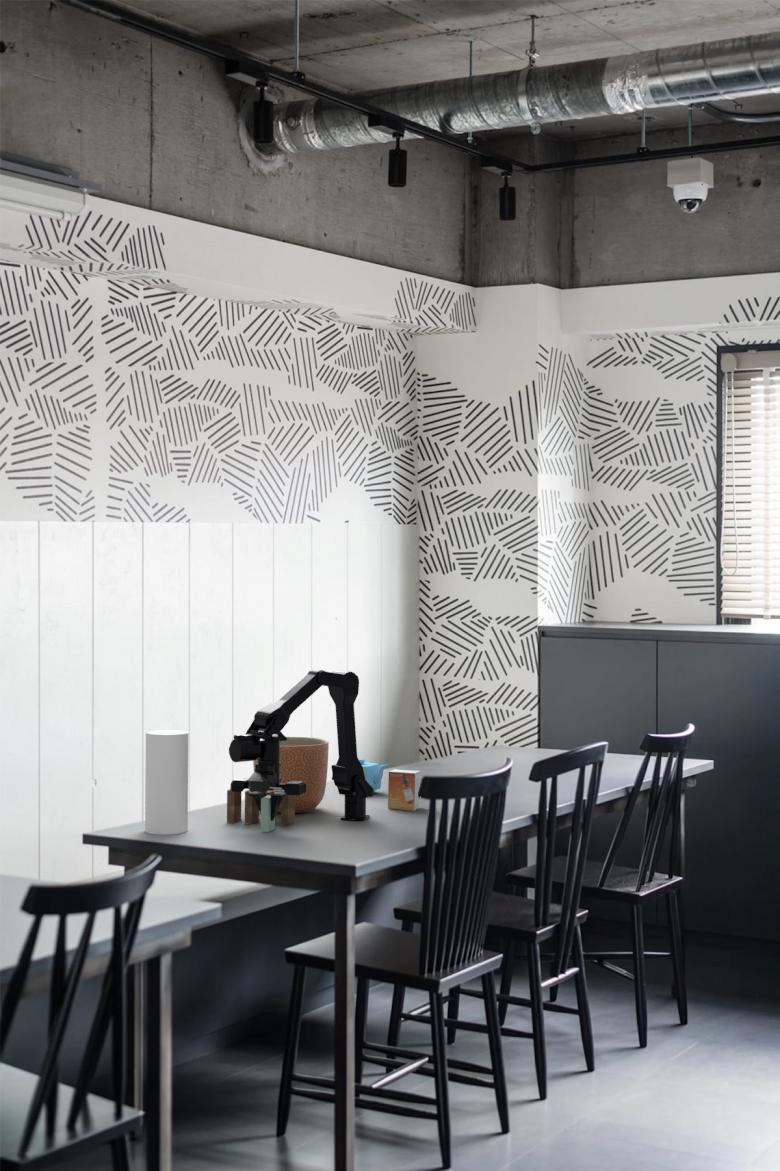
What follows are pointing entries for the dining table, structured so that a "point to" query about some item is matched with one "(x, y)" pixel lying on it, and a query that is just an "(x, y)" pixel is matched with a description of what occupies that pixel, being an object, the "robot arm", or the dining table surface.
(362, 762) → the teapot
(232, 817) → the domino
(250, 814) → the domino
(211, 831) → the dining table surface
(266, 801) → the domino
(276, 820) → the domino
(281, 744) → the planter
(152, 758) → the tall pillar cylinder
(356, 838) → the dining table surface
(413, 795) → the small box
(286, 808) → the domino
